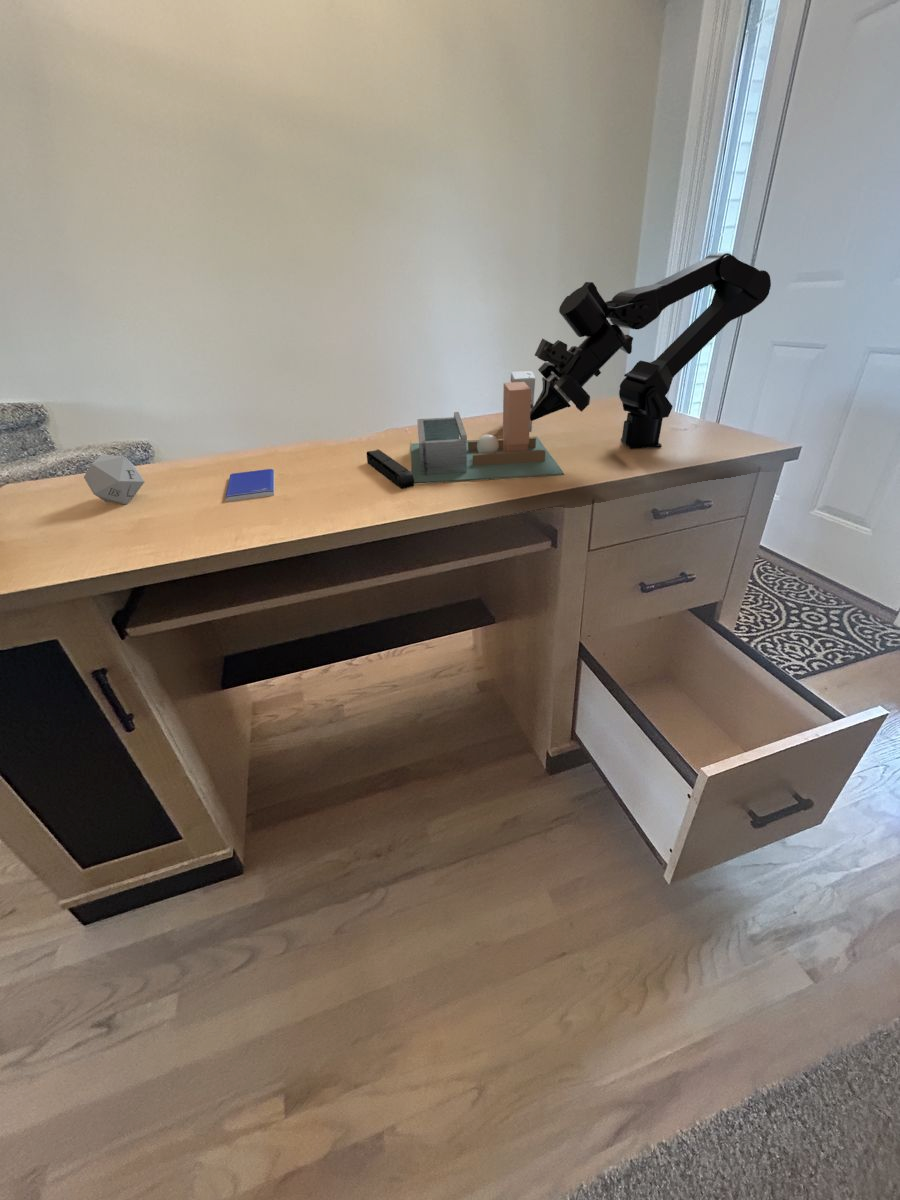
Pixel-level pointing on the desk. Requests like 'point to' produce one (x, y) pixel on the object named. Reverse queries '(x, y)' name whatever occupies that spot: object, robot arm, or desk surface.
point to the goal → (442, 445)
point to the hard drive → (250, 485)
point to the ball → (488, 444)
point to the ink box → (529, 380)
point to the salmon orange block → (516, 416)
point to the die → (113, 479)
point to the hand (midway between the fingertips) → (529, 418)
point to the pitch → (493, 464)
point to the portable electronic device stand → (390, 469)
